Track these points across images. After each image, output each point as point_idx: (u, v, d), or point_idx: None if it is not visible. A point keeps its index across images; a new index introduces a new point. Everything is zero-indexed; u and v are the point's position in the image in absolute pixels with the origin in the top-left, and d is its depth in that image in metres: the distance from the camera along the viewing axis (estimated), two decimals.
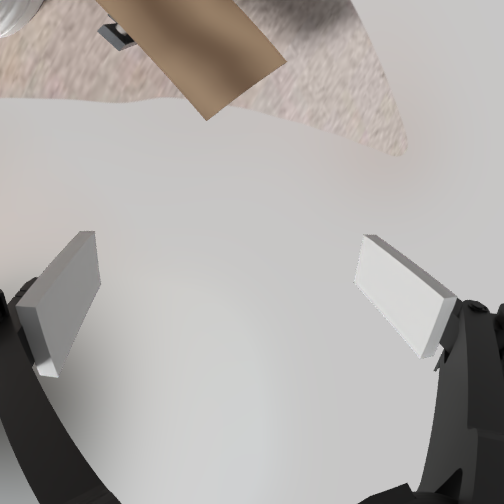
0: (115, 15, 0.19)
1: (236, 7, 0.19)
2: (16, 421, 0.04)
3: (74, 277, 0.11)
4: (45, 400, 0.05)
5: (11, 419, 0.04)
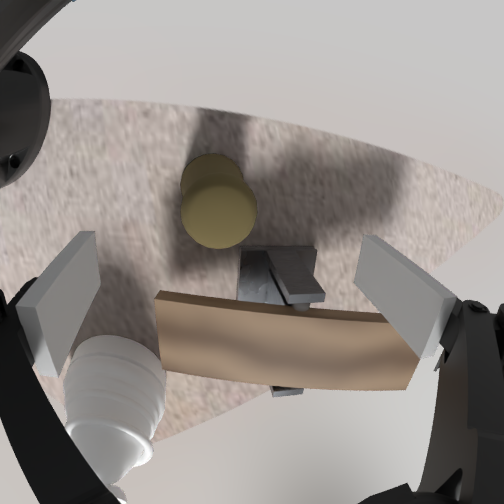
0: (278, 383, 0.28)
1: (371, 323, 0.25)
2: (16, 421, 0.04)
3: (74, 277, 0.11)
4: (45, 400, 0.05)
5: (11, 419, 0.04)
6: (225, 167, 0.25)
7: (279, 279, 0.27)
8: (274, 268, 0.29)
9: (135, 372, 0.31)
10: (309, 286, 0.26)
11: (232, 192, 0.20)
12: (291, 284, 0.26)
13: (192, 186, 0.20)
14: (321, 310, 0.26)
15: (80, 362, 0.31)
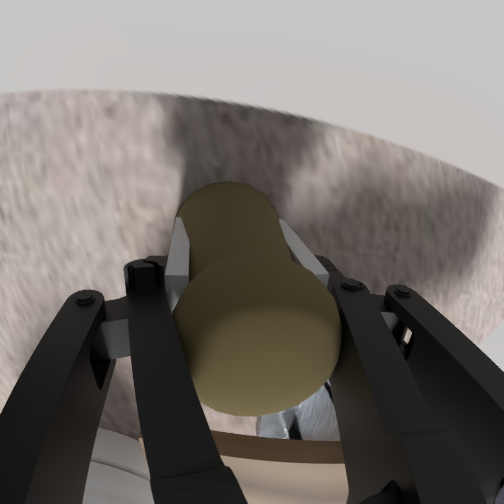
0: None
1: None
2: (149, 383, 0.06)
3: None
4: (186, 371, 0.06)
5: (144, 380, 0.06)
6: (258, 218, 0.13)
7: None
8: None
9: (125, 483, 0.19)
10: None
11: (300, 322, 0.08)
12: None
13: (194, 299, 0.08)
14: None
15: None
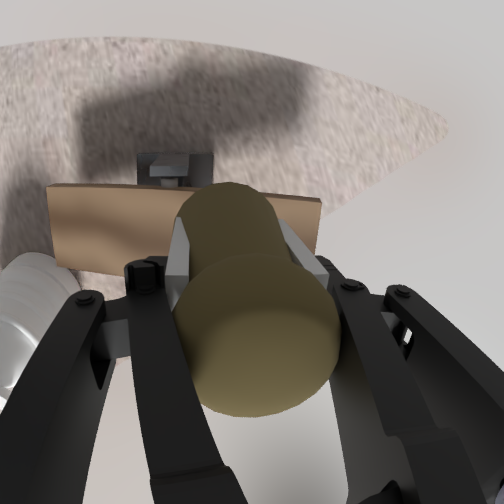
0: None
1: None
2: (149, 383, 0.06)
3: None
4: (186, 371, 0.06)
5: (144, 380, 0.06)
6: (257, 219, 0.13)
7: None
8: None
9: (43, 280, 0.30)
10: (176, 163, 0.25)
11: (299, 323, 0.08)
12: (159, 163, 0.25)
13: (193, 299, 0.08)
14: (188, 187, 0.25)
15: (2, 272, 0.29)
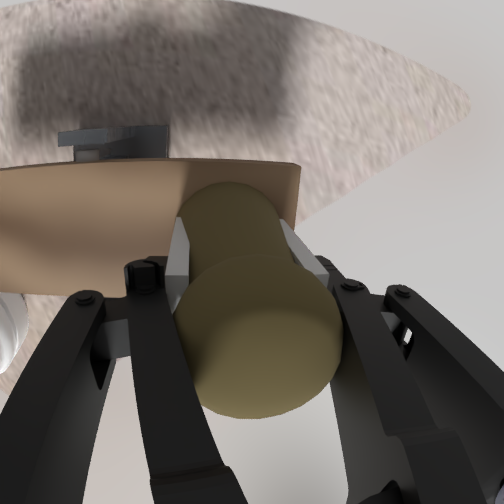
0: None
1: (186, 164, 0.16)
2: (149, 383, 0.06)
3: None
4: (186, 371, 0.06)
5: (144, 380, 0.06)
6: (257, 218, 0.13)
7: None
8: None
9: None
10: None
11: (300, 324, 0.07)
12: (77, 130, 0.16)
13: (192, 303, 0.08)
14: (114, 159, 0.16)
15: None
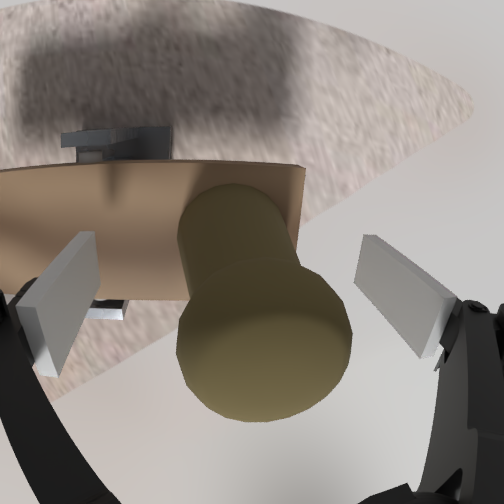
0: None
1: (190, 165, 0.16)
2: (16, 421, 0.04)
3: (74, 277, 0.11)
4: (45, 400, 0.05)
5: (11, 419, 0.04)
6: (263, 221, 0.13)
7: None
8: None
9: None
10: None
11: (310, 329, 0.07)
12: (80, 131, 0.16)
13: (201, 307, 0.08)
14: (117, 161, 0.16)
15: None
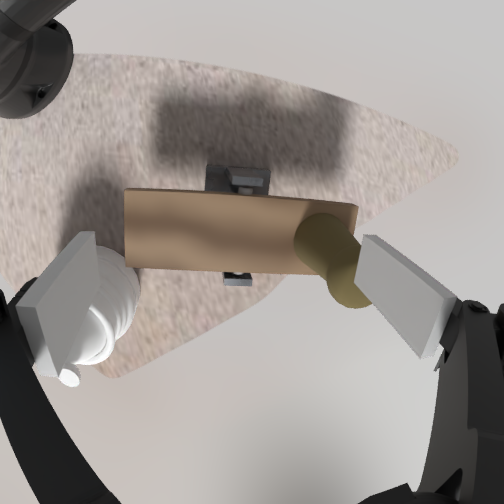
0: (231, 269, 0.33)
1: (305, 202, 0.32)
2: (16, 421, 0.04)
3: (74, 277, 0.11)
4: (45, 400, 0.05)
5: (11, 419, 0.04)
6: (347, 232, 0.29)
7: (230, 175, 0.34)
8: (229, 172, 0.35)
9: (111, 269, 0.37)
10: (252, 176, 0.32)
11: None
12: (237, 174, 0.32)
13: (343, 259, 0.24)
14: (262, 195, 0.32)
15: None
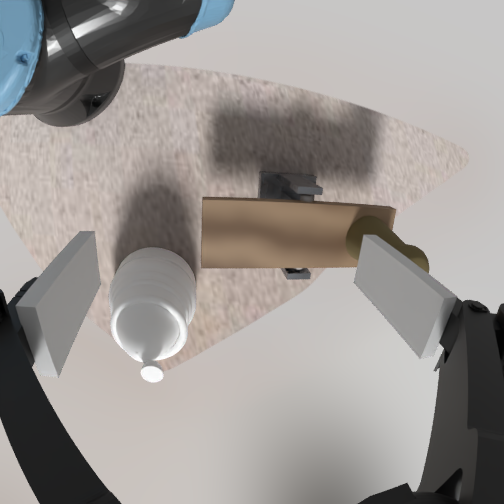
0: (294, 265, 0.39)
1: (355, 207, 0.37)
2: (16, 421, 0.04)
3: (74, 277, 0.11)
4: (45, 400, 0.05)
5: (11, 419, 0.04)
6: (393, 233, 0.34)
7: (290, 183, 0.39)
8: (286, 180, 0.40)
9: (176, 270, 0.42)
10: (311, 185, 0.37)
11: (423, 261, 0.29)
12: (299, 184, 0.37)
13: None
14: (320, 201, 0.37)
15: (129, 264, 0.42)
